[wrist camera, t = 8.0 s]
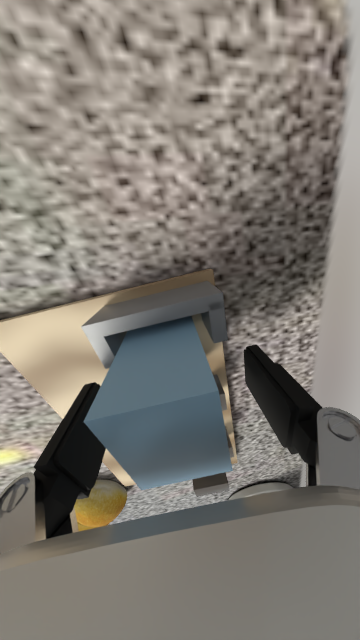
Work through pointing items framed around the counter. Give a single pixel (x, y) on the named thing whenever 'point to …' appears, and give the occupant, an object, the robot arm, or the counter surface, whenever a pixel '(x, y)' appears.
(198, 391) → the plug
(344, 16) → the counter surface
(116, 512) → the bread roll
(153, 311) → the end holder
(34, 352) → the board
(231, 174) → the counter surface
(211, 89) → the counter surface
